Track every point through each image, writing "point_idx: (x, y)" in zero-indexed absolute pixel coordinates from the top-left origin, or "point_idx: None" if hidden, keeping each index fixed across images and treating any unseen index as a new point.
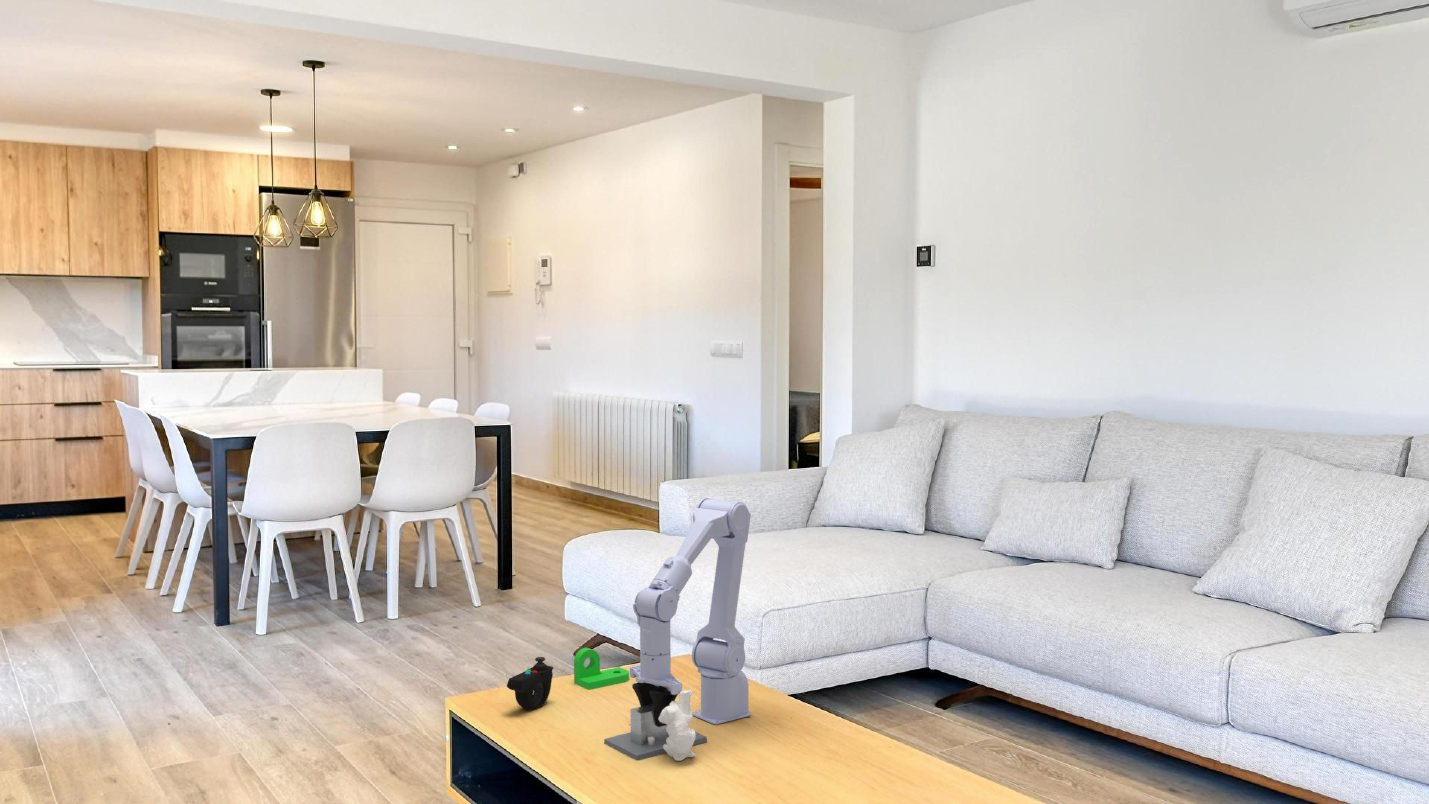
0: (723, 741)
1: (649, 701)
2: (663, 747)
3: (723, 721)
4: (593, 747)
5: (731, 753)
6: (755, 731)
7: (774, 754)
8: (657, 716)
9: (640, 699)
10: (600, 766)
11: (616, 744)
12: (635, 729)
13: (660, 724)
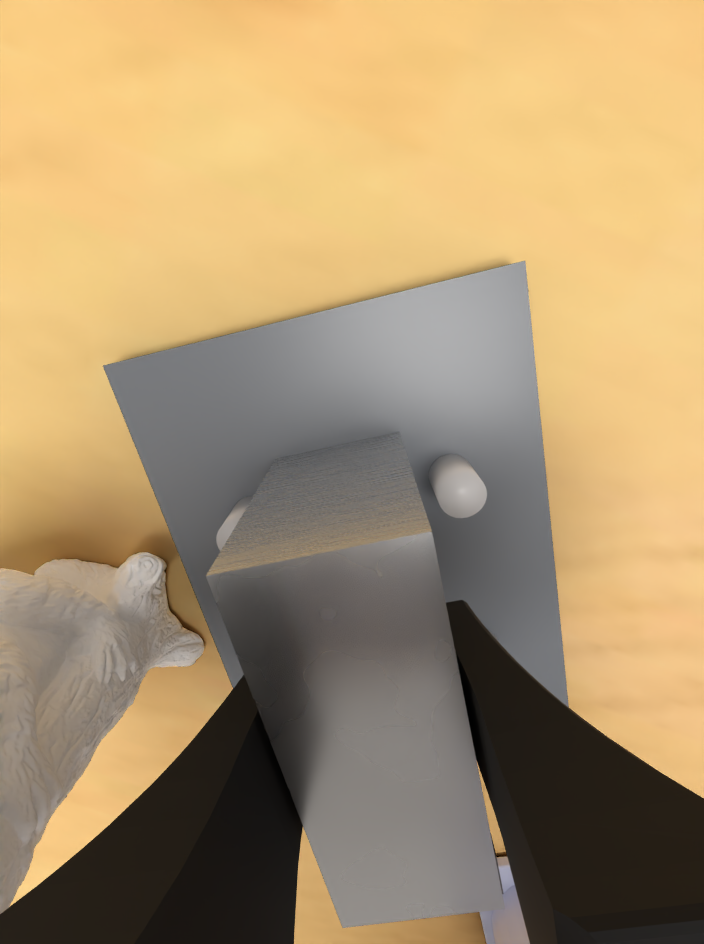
0: None
1: (491, 780)
2: (133, 555)
3: None
4: (493, 158)
5: (104, 789)
6: (323, 933)
7: None
8: (230, 694)
9: (522, 730)
10: (85, 61)
11: (367, 308)
12: (335, 475)
13: None
